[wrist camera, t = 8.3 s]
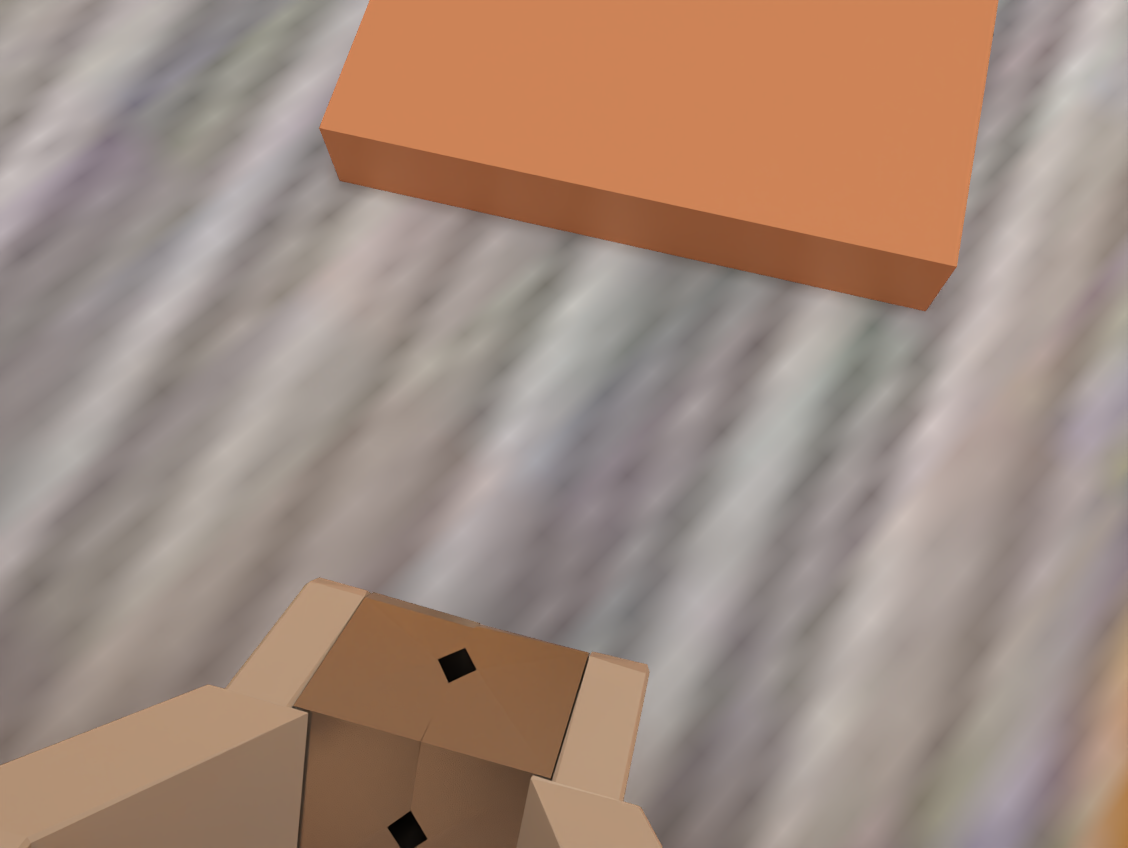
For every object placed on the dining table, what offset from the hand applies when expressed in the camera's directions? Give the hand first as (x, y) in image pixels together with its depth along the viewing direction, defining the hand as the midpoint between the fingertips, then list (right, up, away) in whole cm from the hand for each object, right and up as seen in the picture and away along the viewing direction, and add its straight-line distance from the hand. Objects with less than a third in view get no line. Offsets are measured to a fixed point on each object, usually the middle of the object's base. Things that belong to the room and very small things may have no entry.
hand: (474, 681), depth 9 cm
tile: (+2, +6, +11) cm, 13 cm away
